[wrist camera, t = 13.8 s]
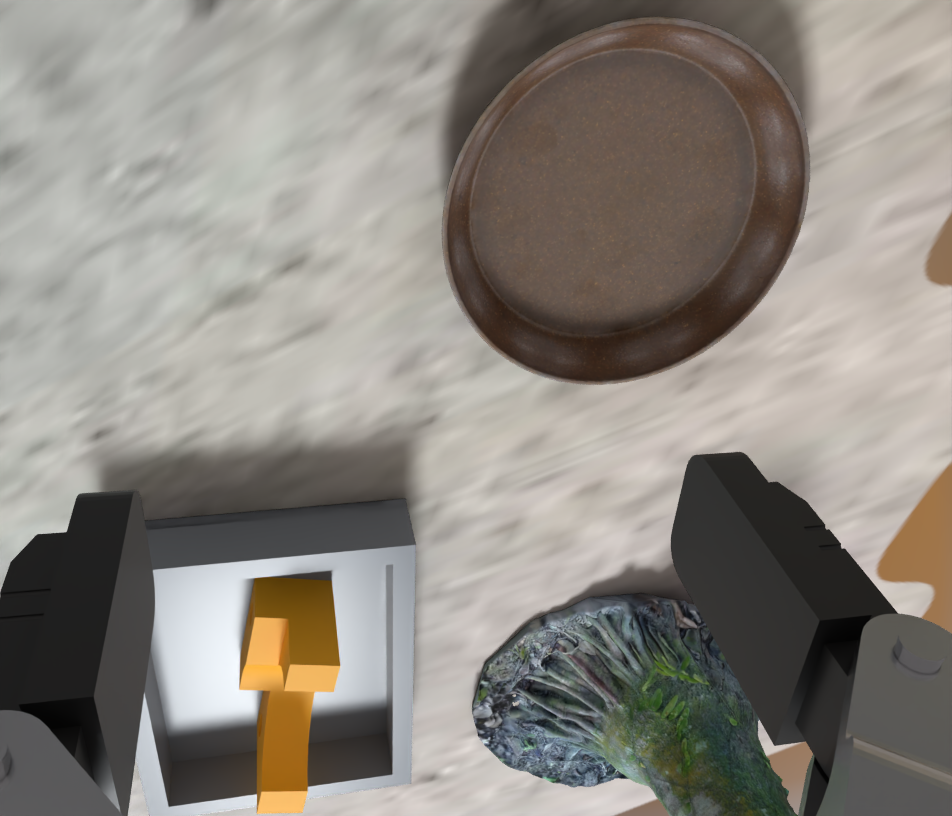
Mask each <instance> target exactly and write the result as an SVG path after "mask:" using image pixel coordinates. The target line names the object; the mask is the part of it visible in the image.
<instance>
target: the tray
mask: <svg viewBox="0 0 952 816" xmlns="http://www.w3.org/2000/svg"><path fill="white" fill-rule="evenodd" d="M145 526H146V533H147V539H148V545H149V551H150V557H151V563H152V569H153V576H154V586H155V617H154V626H153V633H152V640H151V648H150V655H149V662H148V670H147V677H146V684H145V692H144V699H143V706H142V713H141V721H140V728H139V735H138V743H137V750H136V761H137V766H138V770H139V774H140V779H141V783H142V787H143V792H144V796H145V800H146V805H147V809H148V813H149V816H196V815H203V814H209V813H216V812H223V811H230V810H237V809H243V808H250V807H257V719H258V714H259V709H260V704H261V700H262V695H263V690H239V678H240V655H241V650H242V644H243V639H244V633H245V628H246V623H247V617H248V612H249V606H250V601H251V596H252V590H253V585H254V579H255V578H260V577H277V578H294V579H312V580H329V581H332V586H333V596H334V606H335V616H336V626H337V637H338V647H339V657H340V670H339V673H338V677H337V681H336V685H335V689H334V692H315V694H314V699H313V705H312V712H311V720H310V730H309V743H308V768H307V779H308V793H307V797H306V799H311V798H318V797H325V796H332V795H338V794H345V793H352V792H359V791H365V790H372V789H379V788H386V787H393V786H399V785H406V784H411V770H412V718H413V666H414V614H415V562H416V543H415V539H414V534H413V530H412V526H411V521H410V517H409V512H408V508H407V503H406V499H397V500H385V501H373V502H361V503H350V504H338V505H326V506H314V507H302V508H291V509H279V510H267V511H255V512H243V513H232V514H220V515H208V516H196V517H184V518H173V519H161V520H149V521H145Z"/></svg>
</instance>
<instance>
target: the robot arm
mask: <svg viewBox="0 0 952 816" xmlns="http://www.w3.org/2000/svg"><path fill="white" fill-rule="evenodd" d="M671 552H672V559H673V563H674V566H675V569H676V572H677V574H678V576H679V578H680V579H681V581H682V583H683V585H684V586H685V588H686V590H687V592H688V593H689V595H690V597H691V599H692V601H693V602H694V604H695V606H696V608H697V609H698V611H699V613H700V615H701V617H702V618H703V620H704V622H705V624H706V625H707V627H708V629H709V631H710V632H711V634H712V636H713V638H714V640H715V641H716V643H717V645H718V647H719V648H720V650H721V652H722V654H723V656H724V657H725V659H726V661H727V663H728V664H729V666H730V668H731V670H732V671H733V673H734V675H735V677H736V679H737V680H738V682H739V684H740V686H741V687H742V689H743V691H744V693H745V695H746V696H747V698H748V700H749V702H750V703H751V705H752V707H753V709H754V710H755V712H756V714H757V716H758V718H759V719H760V721H761V723H762V725H763V726H764V728H765V730H766V732H767V734H768V735H769V737H770V739H771V741H772V742H773V744H774V746H776V745H784V744H791V743H798V742H805V741H806V742H807V744H808V746H809V747H810V749H811V751H812V752H813V756H812V758H811V761H810V763H809V766H808V769H807V773H806V779H805V783H804V789H803V793H802V799H801V804H800V809H799V814H798V816H952V634H951V633H950V632H948V631H947V630H945V629H943V628H941V627H940V626H938V625H936V624H934V623H932V622H929V621H927V620H924V619H922V618H918V617H915V616H911V615H905V614H898V613H897V612H896V610H895V609H894V608H893V607H892V606H891V604H890V603H889V602H888V601H887V599H886V598H885V597H884V596H883V595H882V593H881V592H880V591H879V590H878V588H877V587H876V586H875V585H874V584H873V582H872V581H871V580H870V579H869V577H868V576H867V575H866V574H865V573H864V571H863V570H862V569H861V568H860V566H859V565H858V564H857V563H856V562H855V560H854V559H853V558H852V557H851V555H850V554H849V553H848V552H847V551H846V549H842V548H841V543H840V542H839V541H838V540H837V538H836V537H835V536H834V535H833V534H832V532H831V531H830V530H829V529H828V530H826V528H825V524H824V523H823V521H822V520H821V519H820V518H819V516H818V515H817V514H816V513H815V512H814V510H813V509H812V508H811V507H810V505H809V504H808V503H807V502H806V501H805V500H803V499H802V498H800V497H799V496H797V495H796V494H794V493H793V492H791V491H790V490H788V489H787V488H786V487H784V486H783V485H781V484H780V483H778V482H769V483H768V481H767V480H766V479H765V477H764V476H763V475H762V474H761V472H760V471H759V470H758V468H757V467H756V466H755V465H754V463H753V462H752V461H751V460H750V458H749V457H748V456H747V455H746V454H744V453H742V452H733V453H717V454H702V455H694V456H693V457H691V459H690V460H689V462H688V464H687V468H686V472H685V476H684V480H683V485H682V489H681V494H680V498H679V502H678V507H677V511H676V516H675V520H674V524H673V529H672V534H671ZM0 595H1V596H0V816H128V808H129V801H130V794H131V786H132V779H133V772H134V765H135V757H136V750H137V743H138V735H139V728H140V721H141V713H142V706H143V699H144V692H145V684H146V677H147V670H148V662H149V655H150V648H151V640H152V633H153V626H154V617H155V586H154V576H153V569H152V563H151V557H150V551H149V545H148V539H147V533H146V526H145V520H144V514H143V508H142V502H141V498H140V495H139V492H138V491H137V490H128V491H113V492H98V493H82V494H79V495H78V496H77V498H76V501H75V505H74V508H73V512H72V516H71V519H70V523H69V526H68V530H67V532H64V533H51V534H37V535H36V536H35V537H34V538H33V539H32V540H31V541H30V542H29V544H28V545H27V546H26V547H25V548H24V549H23V550H22V551H21V552H20V553H19V554H18V555H17V556H16V557H15V558H14V559H13V560H12V561H11V563H10V566H9V569H8V572H7V575H6V577H5V580H4V583H3V586H2V589H1V592H0Z"/></svg>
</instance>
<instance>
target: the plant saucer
mask: <svg viewBox="0 0 952 816" xmlns="http://www.w3.org/2000/svg"><path fill="white" fill-rule="evenodd" d="M809 182H810V154H809V147H808V138H807V134H806V129H805V126H804V122H803V119H802V116H801V113H800V110H799V107H798V105H797V103H796V101H795V98H794V96H793V95H792V93H791V91H790V89H789V88H788V86H787V84H786V83H785V81H784V80H783V79H782V77H781V76H780V74H779V73H778V72H777V70H776V69H775V68H774V67H773V66H772V65H771V64H770V63H769V62H768V61H767V60H766V59H765V58H764V57H763V56H762V55H761V54H760V53H759V52H757V51H756V50H755V49H754V48H753V47H752V46H750V45H749V44H747V43H746V42H744V41H742V40H741V39H739V38H738V37H736V36H734V35H732V34H730V33H728V32H726V31H724V30H722V29H719V28H717V27H714V26H711V25H708V24H705V23H701V22H698V21H694V20H689V19H683V18H675V17H642V18H634V19H627V20H621V21H617V22H613V23H610V24H606V25H603V26H599V27H596V28H594V29H591V30H588V31H586V32H583V33H581V34H579V35H576V36H574V37H572V38H570V39H568V40H566V41H564V42H563V43H561V44H559V45H557V46H555V47H554V48H552V49H551V50H549V51H548V52H546V53H545V54H543V55H542V56H540V57H539V58H537V59H536V60H534V61H533V62H532V63H530V64H529V65H528V66H527V67H525V68H524V69H523V70H522V71H520V72H519V73H518V74H517V75H516V76H515V77H514V78H513V79H512V80H511V81H509V82H508V83H507V85H506V86H505V87H504V88H503V89H502V90H501V91H500V92H499V93H498V94H497V95H496V97H495V98H494V99H493V100H492V101H491V103H490V104H489V105H488V106H487V108H486V109H485V110H484V112H483V113H482V114H481V116H480V118H479V119H478V121H477V122H476V124H475V125H474V127H473V128H472V130H471V132H470V134H469V135H468V137H467V139H466V141H465V143H464V145H463V147H462V149H461V151H460V153H459V155H458V158H457V160H456V163H455V166H454V168H453V171H452V175H451V178H450V181H449V185H448V188H447V192H446V197H445V203H444V210H443V218H442V246H443V255H444V262H445V267H446V272H447V276H448V279H449V283H450V285H451V288H452V291H453V294H454V296H455V298H456V300H457V302H458V304H459V306H460V308H461V310H462V312H463V313H464V315H465V317H466V318H467V320H468V321H469V323H470V324H471V326H472V327H473V328H474V329H475V331H476V332H477V333H478V334H479V335H480V337H481V338H482V339H483V340H484V341H485V342H486V343H487V344H488V345H489V346H490V347H491V348H492V349H494V350H495V351H496V352H498V353H499V354H500V355H502V356H503V357H505V358H506V359H507V360H509V361H510V362H512V363H514V364H515V365H517V366H519V367H521V368H523V369H525V370H527V371H529V372H532V373H534V374H537V375H539V376H542V377H545V378H548V379H552V380H556V381H561V382H566V383H573V384H586V385H604V384H617V383H622V382H629V381H634V380H638V379H643V378H647V377H649V376H652V375H655V374H658V373H661V372H664V371H667V370H669V369H672V368H674V367H676V366H679V365H681V364H683V363H685V362H687V361H689V360H691V359H693V358H694V357H696V356H698V355H700V354H701V353H703V352H705V351H706V350H707V349H709V348H710V347H712V346H713V345H715V344H716V343H718V342H719V341H720V340H721V339H722V338H724V337H725V336H727V335H728V334H729V333H730V332H731V331H733V330H734V329H735V328H736V327H737V326H738V325H739V324H740V323H741V322H742V321H743V320H744V319H745V318H746V317H747V316H748V315H749V314H750V313H751V312H752V311H753V310H754V309H755V308H756V306H757V305H758V304H759V303H760V302H761V300H762V299H763V298H764V297H765V296H766V294H767V293H768V291H769V290H770V288H771V287H772V286H773V284H774V283H775V281H776V280H777V278H778V276H779V275H780V273H781V271H782V270H783V268H784V266H785V264H786V262H787V260H788V258H789V256H790V254H791V252H792V250H793V247H794V245H795V243H796V240H797V238H798V235H799V232H800V229H801V225H802V222H803V219H804V215H805V211H806V205H807V199H808V192H809Z"/></svg>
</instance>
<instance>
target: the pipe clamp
mask: <svg viewBox="0 0 952 816" xmlns="http://www.w3.org/2000/svg"><path fill="white" fill-rule="evenodd" d="M339 670H340V657H339V647H338V637H337V626H336V616H335V606H334V596H333V586H332V581H329V580H312V579H294V578H277V577H260V578H255V579H254V585H253V590H252V596H251V601H250V606H249V612H248V617H247V623H246V628H245V633H244V639H243V644H242V650H241V655H240V678H239V690H263V695H262V700H261V704H260V709H259V714H258V719H257V814H259V813H302V812H303V808H304V804H305V800H306V797H307V793H308V779H307V768H308V743H309V730H310V720H311V712H312V705H313V699H314V694H315V692H334V689H335V685H336V681H337V677H338V673H339Z"/></svg>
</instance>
